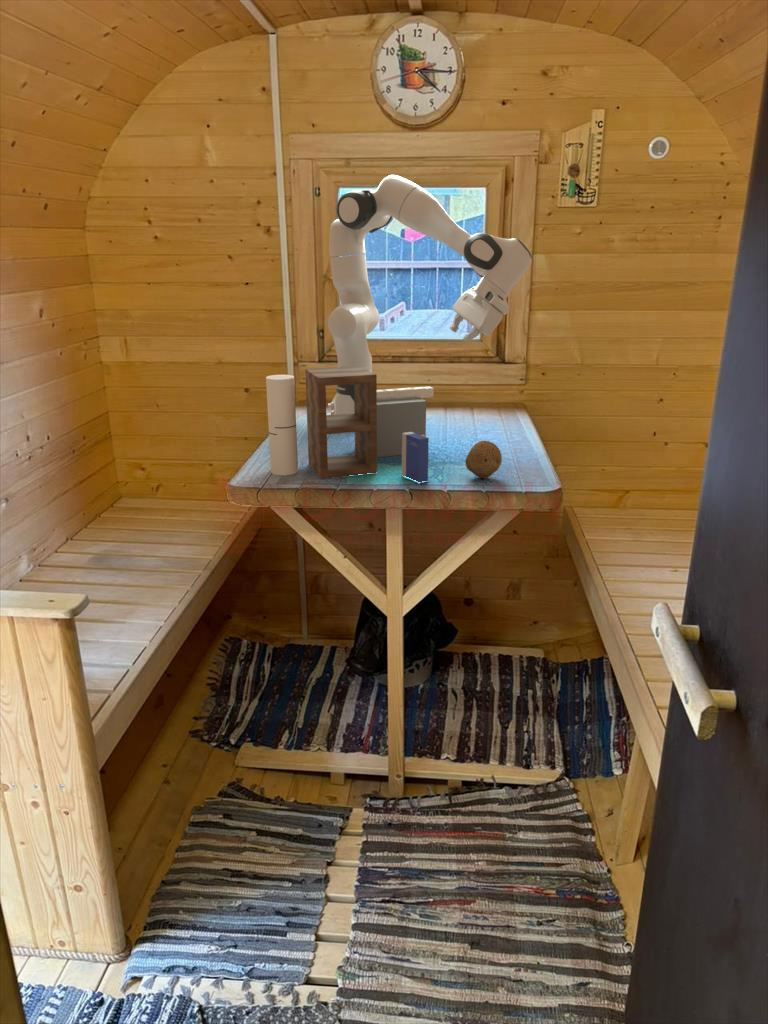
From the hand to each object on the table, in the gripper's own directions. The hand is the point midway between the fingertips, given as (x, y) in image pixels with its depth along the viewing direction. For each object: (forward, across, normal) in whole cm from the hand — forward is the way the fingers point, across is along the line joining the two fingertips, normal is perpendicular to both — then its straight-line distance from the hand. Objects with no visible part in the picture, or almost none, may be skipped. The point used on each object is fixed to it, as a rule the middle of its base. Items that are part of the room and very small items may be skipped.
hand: (458, 336), depth 217 cm
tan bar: (+24, +3, -6) cm, 24 cm away
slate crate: (+37, +6, +1) cm, 37 cm away
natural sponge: (+24, +40, +7) cm, 47 cm away
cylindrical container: (+54, +17, -29) cm, 64 cm away
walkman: (+34, +35, -6) cm, 49 cm away
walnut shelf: (+45, +20, -17) cm, 52 cm away
